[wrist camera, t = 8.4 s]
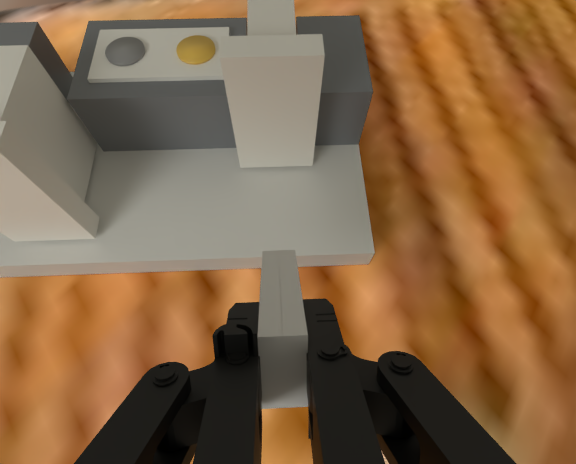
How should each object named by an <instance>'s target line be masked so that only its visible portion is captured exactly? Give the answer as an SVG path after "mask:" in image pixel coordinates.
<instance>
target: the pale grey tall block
mask: <svg viewBox="0 0 576 464" xmlns="http://www.w3.org/2000/svg"><path fill="white" fill-rule="evenodd" d="M324 58H325V53H324V44H323V36H322V34H301V35H296V24H295V10H294V0H248V22H247V36H221V44H220V62H221V67H222V72H223V78H224V83H225V89H226V94H227V99H228V105H229V110H230V115H231V121H232V126H233V132H234V137H235V142H236V148H237V153H238V158H239V164H240V168H253V167H287V166H313V157H314V148H315V139H316V130H317V121H318V112H319V103H320V94H321V85H322V76H323V67H324Z"/></svg>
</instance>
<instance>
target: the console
mask: <svg viewBox="0 0 576 464" xmlns="http://www.w3.org/2000/svg"><path fill="white" fill-rule="evenodd" d="M301 34H322V36H323V44H324V53H325V58H324V67H323V76H322V85H321V94H320V103H319V112H318V121H317V130H316V139H315V148H314V157H313V166H287V167H253V168H240V164H239V158H238V153H237V148H236V142H235V137H234V132H233V126H232V121H231V115H230V110H229V105H228V99H227V94H226V89H225V83H224V78H223V72H222V67H221V62H220V44H221V36H247V18H214V19H164V20H115V21H89V22H88V25H87V29H86V33H85V36H84V40H83V43H82V47H81V51H80V54H79V58H78V61H77V65H76V68H75V72H69V71H68V69H67V68H66V66H65V64H64V63H63V61H62V60H61V58H60V57H59V55H58V53H57V52H56V50H55V49H54V47H53V46H52V44H51V42H50V41H49V39H48V38H47V36H46V35H45V33H44V31H43V30H42V28H41V27H40V25H39V24H38V22H17V23H0V46H11V45H28V46H29V47H30V49H31V50H32V52H33V53H34V54H35V56H36V57H37V59H38V60H39V62H40V63H41V64H42V66H43V67H44V69H45V70H46V71H47V73H48V74H49V76H50V77H51V79H52V80H53V81H54V83H55V84H56V86H57V87H58V89H59V90H60V91H61V93H62V94H63V96H64V97H65V98H66V100H67V101H68V103H69V104H70V106H71V107H72V108H73V110H74V111H75V113H76V114H77V115H78V117H79V118H80V120H81V121H82V123H83V124H84V125H85V127H86V128H87V130H88V131H89V132H90V134H91V135H92V137H93V138H94V140H95V141H96V142H97V147H96V151H95V156H94V160H93V165H92V169H91V174H90V179H89V183H88V188H87V192H86V197H85V201H84V202H85V203H86V204H87V205H88V206H89V207H90V208H91V209H92V210H93V211H94V212H95V213H96V214H97V215H98V216H99V217H100V218H99V224H98V229H97V234H96V239H76V240H46V241H16V242H15V241H13V240H11V239H10V238H8V237H7V236H5V235H3V234H2V233H0V277H24V276H52V275H80V274H108V273H137V272H165V271H193V270H222V269H250V268H262V251H274V250H295V253H296V260H297V266H298V267H306V266H335V265H363V264H369V262H370V261H371V259H372V257H373V255H374V254H375V251H374V245H373V238H372V231H371V224H370V218H369V211H368V204H367V197H366V191H365V184H364V177H363V171H362V164H361V157H360V150H359V141H360V138H361V134H362V130H363V127H364V123H365V119H366V116H367V112H368V108H369V105H370V101H371V98H372V94H373V88H372V83H371V77H370V72H369V67H368V61H367V56H366V50H365V45H364V39H363V34H362V28H361V23H360V17H359V16H312V17H296V35H301Z"/></svg>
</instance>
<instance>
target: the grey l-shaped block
mask: <svg viewBox="0 0 576 464" xmlns="http://www.w3.org/2000/svg"><path fill="white" fill-rule="evenodd" d="M96 147H97V142H96V141H95V140H94V138H93V137H92V135H91V134H90V132H89V131H88V130H87V128H86V127H85V125H84V124H83V123H82V121H81V120H80V118H79V117H78V115H77V114H76V113H75V111H74V110H73V108H72V107H71V106H70V104H69V103H68V101H67V100H66V98H65V97H64V96H63V94H62V93H61V91H60V90H59V89H58V87H57V86H56V84H55V83H54V81H53V80H52V79H51V77H50V76H49V74H48V73H47V71H46V70H45V69H44V67H43V66H42V64H41V63H40V62H39V60H38V59H37V57H36V56H35V54H34V53H33V52H32V50H31V49H30V47H29V46H28V45H11V46H0V233H2V234H3V235H5V236H7V237H8V238H10V239H11V240H13V241H15V242H16V241H46V240H76V239H96V234H97V229H98V224H99V218H100V217H99V216H98V215H97V214H96V213H95V212H94V211H93V210H92V209H91V208H90V207H89V206H88V205H87V204H86V203H85V202H84V201H85V197H86V192H87V188H88V183H89V179H90V174H91V169H92V165H93V160H94V156H95V151H96Z"/></svg>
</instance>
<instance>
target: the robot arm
mask: <svg viewBox="0 0 576 464" xmlns="http://www.w3.org/2000/svg"><path fill="white" fill-rule="evenodd" d="M213 344H214V353H215V361H214V362H212V363H211V364H209V365H207V366H205V367H203V368H200V369H196V370H193V371H188V368H187V367H186V366H185V365H184V364H181V363H178V362H167V363H163V364H159V365H157V366H155V367H153V368H151V369H150V370H149V371H148V372H147V373H146V374H145V375H144V376H143V377H142V378H141V380H140V381H139V382H138V383H137V385H136V386H135V387H134V388H133V390H132V391H131V392H130V393H129V395H128V396H127V397H126V399H125V400H124V401H123V402H122V404H121V405H120V406H119V407H118V409H117V410H116V411H115V412H114V414H113V415H112V416H111V417H110V419H109V420H108V421H107V423H106V424H105V425H104V426H103V428H102V429H101V430H100V431H99V433H98V434H97V435H96V436H95V438H94V439H93V440H92V441H91V443H90V444H89V445H88V446H87V448H86V449H85V450H84V452H83V453H82V454H81V455H80V457H79V458H78V459H77V460H76V462H75V463H74V464H190V462H191V460H192V458H193V456H194V454H195V456H194V461H193V464H261V449H262V411H261V409H268V408H289V407H308V406H309V439H311V446H312V455H313V464H385V462H384V458H383V455H382V452H383V454H384V455H385V457H386V459H387V461H388V462H389V464H516V463H515V462H514V461H513V460H512V458H511V457H510V456H509V455H508V454H507V453H506V452H505V451H504V450H503V449H502V448H501V447H500V446H499V445H498V443H497V442H496V441H495V440H494V439H493V438H492V437H491V436H490V435H489V434H488V433H487V432H486V431H485V430H484V428H483V427H482V426H481V425H480V424H479V423H478V422H477V421H476V420H475V419H474V418H473V417H472V416H471V415H470V413H469V412H468V411H467V410H466V409H465V408H464V407H463V406H462V405H461V404H460V403H459V402H458V401H457V400H456V398H455V397H454V396H453V395H452V394H451V393H450V392H449V391H448V390H447V389H446V388H445V387H444V386H443V385H442V383H441V382H440V381H439V380H438V379H437V378H436V377H435V376H434V375H433V374H432V373H431V372H430V371H429V370H428V368H427V367H426V366H425V365H424V364H423V363H422V362H421V361H420V360H419V359H417V358H416V357H415V356H413V355H410V354H408V353H405V352H400V351H391V352H387V353H384V354H382V355H381V356H380V357H379V359H378V362H374V361H369V360H364V359H361V358H358V357H356V356H354V355H353V354H352V353H351V351H350V349H349V348H348V347H347V346H346V345H344V342H343V338H342V335H341V332H340V328H339V325H338V321H337V318H336V315H335V311H334V307H333V305H332V304H331V303H330V302H329V301H328V300H327V299H305V300H302V293H301V286H300V280H299V273H298V266H297V260H296V253H295V250H274V251H262V268H261V285H260V302H251V303H235V304H234V306H233V307H232V308H231V309H230V310H229V313H228V318H227V323H226V324H225V325H223V326H221V327H219V328H218V329H217V330H215V332H214V334H213ZM381 450H382V452H381Z"/></svg>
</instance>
